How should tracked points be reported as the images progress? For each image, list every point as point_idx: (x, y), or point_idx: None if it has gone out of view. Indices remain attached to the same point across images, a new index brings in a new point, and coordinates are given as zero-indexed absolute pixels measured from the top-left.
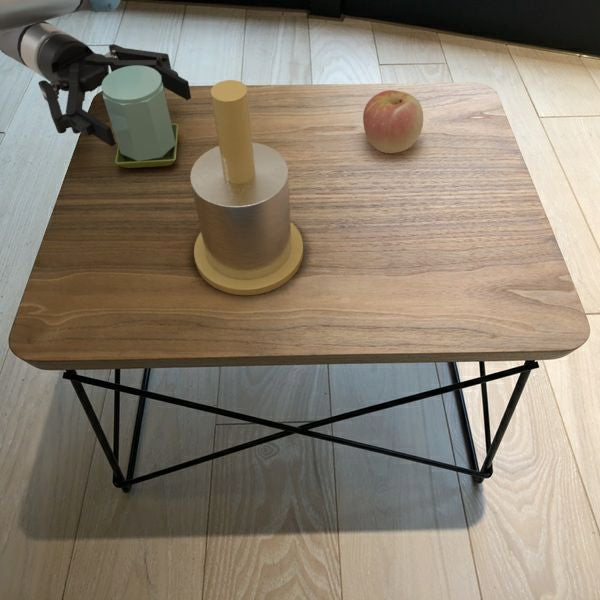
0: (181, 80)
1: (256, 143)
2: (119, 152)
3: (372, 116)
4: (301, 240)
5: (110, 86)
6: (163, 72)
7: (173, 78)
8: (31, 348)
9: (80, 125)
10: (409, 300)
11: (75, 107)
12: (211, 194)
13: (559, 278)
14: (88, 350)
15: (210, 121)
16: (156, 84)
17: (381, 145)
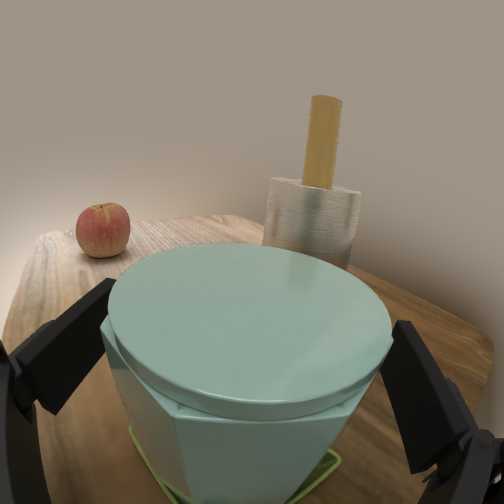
0: (104, 287)
1: (274, 179)
2: (307, 485)
3: (119, 216)
4: None
5: (348, 327)
6: (62, 331)
7: (93, 305)
8: (484, 335)
9: (459, 394)
10: (258, 237)
11: (464, 460)
12: (352, 190)
13: (203, 216)
14: (449, 315)
15: (76, 401)
16: (216, 247)
17: (128, 238)
